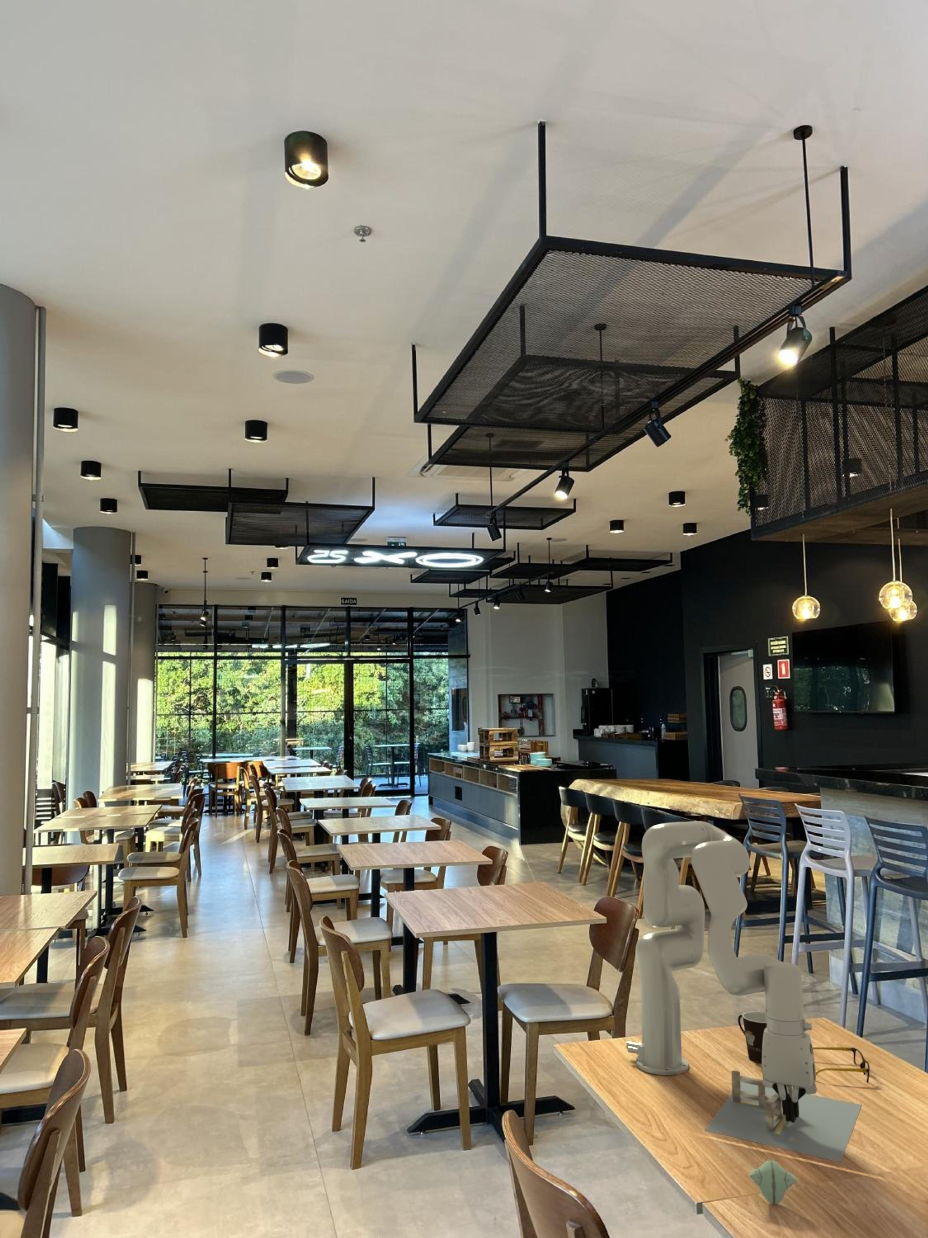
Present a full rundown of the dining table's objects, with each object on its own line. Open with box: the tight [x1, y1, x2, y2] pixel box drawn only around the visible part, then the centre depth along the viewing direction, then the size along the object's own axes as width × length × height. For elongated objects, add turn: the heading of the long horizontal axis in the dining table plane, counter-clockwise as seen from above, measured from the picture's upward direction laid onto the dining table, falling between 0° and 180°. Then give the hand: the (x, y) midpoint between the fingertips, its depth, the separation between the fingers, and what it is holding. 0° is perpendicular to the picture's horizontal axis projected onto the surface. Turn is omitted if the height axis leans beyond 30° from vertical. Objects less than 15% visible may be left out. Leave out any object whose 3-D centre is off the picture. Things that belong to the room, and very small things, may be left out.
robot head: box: [748, 1159, 798, 1205], centre depth 155 cm, size 8×4×7 cm, turn 78°
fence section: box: [731, 1070, 793, 1108], centre depth 194 cm, size 13×2×6 cm, turn 59°
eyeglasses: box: [812, 1046, 871, 1083], centre depth 215 cm, size 14×14×4 cm
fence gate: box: [765, 1087, 789, 1129], centre depth 186 cm, size 11×1×5 cm, turn 142°
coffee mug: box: [737, 1011, 767, 1064], centre depth 224 cm, size 12×9×10 cm
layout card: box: [704, 1082, 863, 1163], centre depth 188 cm, size 26×30×1 cm
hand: (791, 1119), depth 183 cm, fingers closed
